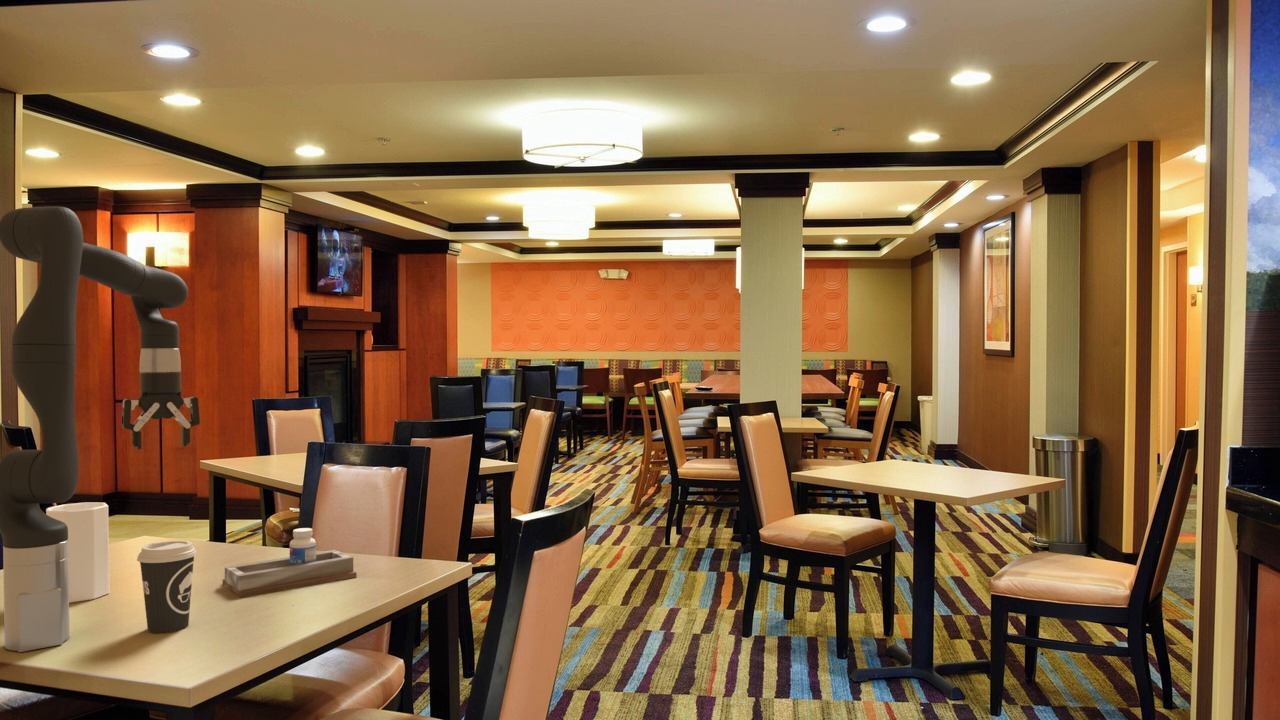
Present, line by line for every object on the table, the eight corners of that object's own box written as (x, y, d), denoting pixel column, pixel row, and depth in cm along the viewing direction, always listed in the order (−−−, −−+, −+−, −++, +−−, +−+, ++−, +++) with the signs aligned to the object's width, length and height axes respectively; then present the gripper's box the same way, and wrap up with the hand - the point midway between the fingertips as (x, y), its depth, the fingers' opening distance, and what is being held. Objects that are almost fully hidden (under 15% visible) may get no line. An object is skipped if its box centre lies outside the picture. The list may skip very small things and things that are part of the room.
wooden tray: (356, 577, 193) (356, 558, 193) (241, 597, 178) (241, 577, 178) (332, 565, 204) (332, 548, 204) (222, 583, 188) (222, 565, 188)
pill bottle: (284, 575, 191) (283, 530, 191) (304, 569, 196) (303, 526, 196) (301, 577, 189) (301, 532, 189) (321, 572, 194) (320, 528, 194)
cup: (36, 606, 173) (35, 512, 173) (58, 591, 184) (56, 503, 184) (100, 601, 176) (99, 509, 176) (117, 587, 187) (116, 500, 187)
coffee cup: (184, 616, 165) (183, 537, 165) (207, 626, 159) (206, 543, 159) (129, 629, 158) (128, 546, 157) (151, 639, 152) (150, 553, 151)
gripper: (125, 371, 175) (126, 452, 175) (202, 369, 184) (203, 446, 184) (117, 370, 181) (119, 449, 181) (193, 369, 190) (194, 444, 190)
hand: (161, 447), depth 183 cm, fingers open, 8 cm apart
